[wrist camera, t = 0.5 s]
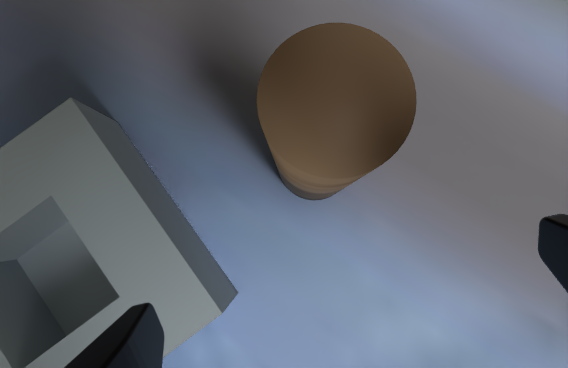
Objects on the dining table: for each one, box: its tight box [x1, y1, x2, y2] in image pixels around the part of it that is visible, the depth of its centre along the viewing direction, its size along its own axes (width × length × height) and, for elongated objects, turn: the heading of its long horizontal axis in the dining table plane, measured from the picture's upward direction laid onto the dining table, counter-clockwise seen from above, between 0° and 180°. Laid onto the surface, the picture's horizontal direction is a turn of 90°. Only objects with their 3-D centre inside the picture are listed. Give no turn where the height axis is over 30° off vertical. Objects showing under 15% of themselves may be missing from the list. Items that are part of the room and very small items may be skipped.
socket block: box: [0, 97, 238, 368], centre depth 21 cm, size 13×13×5 cm
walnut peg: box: [257, 23, 416, 200], centre depth 17 cm, size 4×4×13 cm
